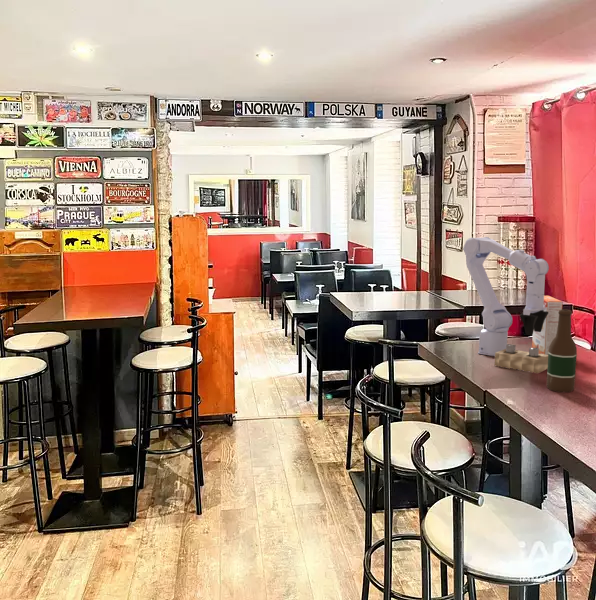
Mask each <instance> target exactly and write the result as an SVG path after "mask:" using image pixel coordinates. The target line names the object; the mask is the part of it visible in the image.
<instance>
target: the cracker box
mask: <svg viewBox="0 0 596 600" xmlns="http://www.w3.org/2000/svg"><path fill="white" fill-rule="evenodd" d="M563 303H564V302H563V301H562V300H560V299H557V298H555V297H553V296H550V295H544V305H545V308H547V310H544V311H547V312H548V315H547V316H546V318H545V320H544V323H543V327H542V330H541V332H535V331H533V335H532V341H531V342H532V343H531V348H538V349H539V354H544V355H548V352H549V346H550V344H551V342H552V340H553V339H554V338H555V337H556V333H557V328H558V320H559V314H558V312H559V310H562V309H563V305H564V304H563Z"/></svg>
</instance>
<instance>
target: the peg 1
mask: <svg viewBox="0 0 596 600" xmlns="http://www.w3.org/2000/svg"><path fill="white" fill-rule="evenodd" d="M515 350H516V344H513V343H512V344H511V343H509V344H508V343H507V345H506V353H510V354H515Z"/></svg>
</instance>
